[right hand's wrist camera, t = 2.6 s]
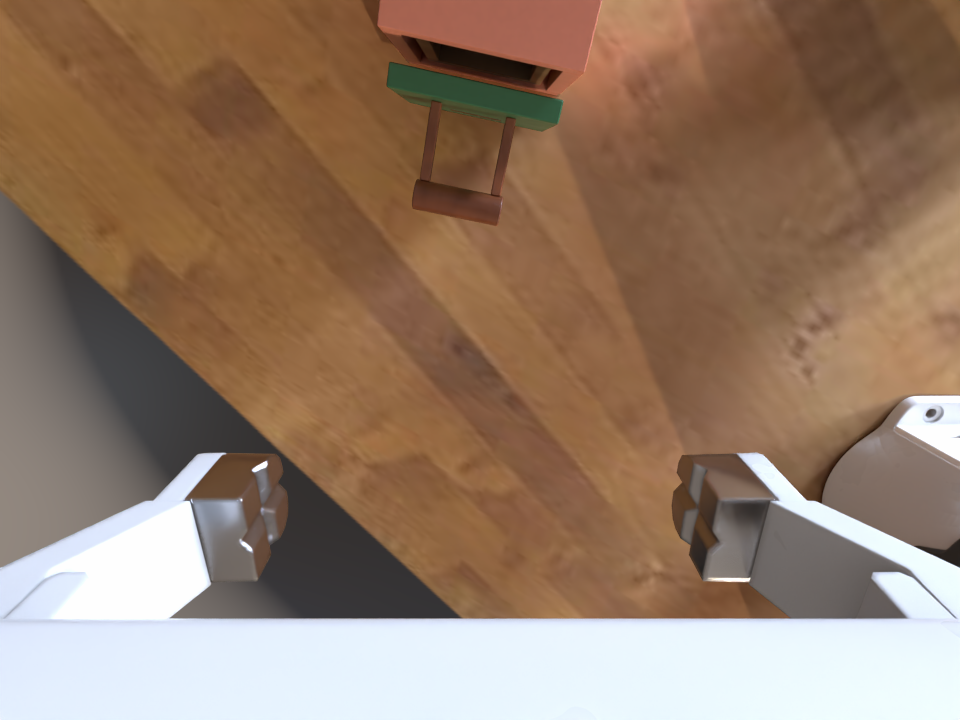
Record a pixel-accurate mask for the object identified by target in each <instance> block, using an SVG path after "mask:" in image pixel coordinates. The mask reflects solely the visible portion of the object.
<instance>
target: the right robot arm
mask: <svg viewBox="0 0 960 720" xmlns="http://www.w3.org/2000/svg"><path fill="white" fill-rule="evenodd" d="M928 410H929V411H928ZM927 411H928V412H927ZM926 412H927V413H926ZM282 474H283V469H282V464H281V460H280V458H279V457H278V456H277V455H276V454H241V453H228V454H226V453H203V454H198V455H196V457H195V458H194V459H193V460H192V461H191V462H190V463H189V464H188V465H187V466H186V467H185V468H184V469H183V470H182V471H181V472H180V473H179V474H178V475H177V476H176V477H175V479H174V480H173V481H172V482H171V483H170V484H169V485H168V486H167V487H166V488H165V489H164V490H163V491H162V492H161V493H160V494H159V495H158V496H157V497H156V499H154V501H144V502H142V503H139V504H137V505H135V506H133V507H131V508H129V509H126V510H124V511H122V512H120V513H118V514H116V515H113V516H111V517H109V518H107V519H105V520H103V521H100V522H98V523H96V524H94V525H92V526H90V527H87V528H85V529H83V530H81V531H79V532H77V533H74V534H72V535H70V536H68V537H66V538H64V539H62V540H59V541H57V542H55V543H53V544H51V545H48V546H46V547H44V548H42V549H40V550H38V551H35V552H33V553H31V554H29V555H27V556H25V557H22V558H20V559H18V560H16V561H14V562H12V563H9V564H7V565H5V566H3V567H1V568H0V720H960V396H912V397H908V398H906V399H904V400H903V401H901V402H900V403H899V404H898V405H897V406H896V407H895V408H894V410H893V411H892V412H891V413H890V414H889V416H888V417H887V418H886V420H885V421H884V422H883V424H882V425H881V426H880V427H879V428H877V429H876V430H875V431H874V432H872V433H871V434H869V435H868V436H866V437H865V438H863V439H862V440H861V441H859V442H858V443H857V444H855V445H854V446H853V447H852V448H851V449H850V450H848V451H847V452H846V453H845V454H844V456H843V457H842V458H841V459H840V460H839V461H838V463H837V464H836V465H835V467H834V468H833V470H832V471H831V473H830V475H829V477H828V479H827V481H826V484H825V487H824V491H823V496H822V504H821V503H818V502H816V501H807V500H806V499H805V498H804V497H803V496H802V495H801V494H800V493H799V492H798V491H797V490H796V489H795V488H794V487H793V486H792V485H791V484H790V483H789V482H788V481H787V479H786V478H785V477H784V476H783V475H782V474H781V473H780V472H779V471H778V470H777V469H776V468H775V467H774V466H773V465H772V464H771V463H770V462H769V461H768V460H767V458H766V457H765V456H764V455H761V454H759V453H735V454H702V455H682V456H681V458H680V460H679V463H678V469H677V474H678V476H679V477H680V479H681V481H682V483H681V484H680V485H679V486H678V487H677V488H676V489H675V490H674V492H673V500H672V514H673V521H674V524H675V528H676V530H677V532H678V534H679V536H680V538H681V539H682V540H684V541H685V542H687V543H688V544H690V545H691V547H690V552H689V556H690V558H691V559H692V561H693V563H694V565H695V567H696V569H697V571H698V573H699V574H700V576H701V578H702V580H703V581H721V582H749V585H750V586H752V587H753V588H754V589H755V590H757V591H758V592H759V593H760V594H762V595H763V596H764V597H765V598H767V599H768V600H769V601H770V602H772V603H773V604H774V605H775V606H776V607H778V608H779V609H780V610H781V611H783V612H784V613H785V614H786V615H788V616H789V617H790V618H791V619H169V618H170V617H171V616H172V615H174V614H175V613H176V612H177V611H179V610H180V609H181V608H182V607H184V606H185V605H186V604H187V603H189V602H190V601H191V600H192V599H194V598H195V597H196V596H197V595H199V594H200V593H201V592H202V591H204V590H205V589H206V588H207V587H209V586H210V585H211V582H238V581H257V580H258V578H259V576H260V574H261V573H262V571H263V569H264V567H265V565H266V563H267V561H268V559H269V557H270V556H271V553H270V547H269V545H270V544H272V543H273V542H275V541H276V540H278V539H279V538H280V536H281V534H282V532H283V530H284V528H285V524H286V520H287V515H288V498H287V492H286V490H285V489H284V488H283V487H282V486H281V485H280V484H279V483H278V481H279V479H280V477H281V476H282Z"/></svg>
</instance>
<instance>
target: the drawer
mask: <svg viewBox="0 0 960 720" xmlns="http://www.w3.org/2000/svg"><path fill="white" fill-rule="evenodd" d="M415 39H416V41H417V42H418V44H419V45H420V47H421V49H422V50H423V52H424V54H425V55H426V57H427V59H428V60H430V61H435V62H439V63H444V64H448V65H452V66H457V67H461V68H466V69H470V70H475V71H479V72H484V73H488V74H492V75H497V76H501V77H506V78H510V79H515V80H519V81H524V82H528V83H533V84H537V85H540V84H541V82H542V81H543V80H544V78H545V77H546V75H547V74H548V72H549V71H550V70H551V69H550V68H546V67H541V66H537V65H532V64H528V63H524V62H519V61H515V60H510V59H506V58H502V57H497V56H493V55H488V54H484V53H480V52H475V51H471V50H466V49H462V48H458V47H453V46H449V45H444V44H440V43H436V42H431V41H427V40H422V39H418V38H415ZM387 87H389V88H390V89H391V90H393V91H394V92H396V93H397V94H399V95H400V96H401V97H403V98H404V99H406V100H407V101H409V102H410V103H414V104H418V105H423V106H427V107H430V113H429V120H428V127H427V134H426V141H425V147H424V154H423V161H422V168H421V175H420V179H417V180H416V183H415V187H414V192H413V199H412V207H413V209H417V210H422V211H426V212H431V213H436V214H441V215H446V216H450V217H455V218H460V219H465V220H470V221H475V222H479V223H484V224H489V225H494V226H497V225H498V223H499V219H500V214H501V209H502V204H503V197H501V191H502V186H503V182H504V177H505V172H506V167H507V162H508V157H509V152H510V147H511V142H512V138H513V133H514V128H515V126H519V127H523V128H528V129H532V130H537V131H541V132H542V131H544V130H547V129H549V128H551V127H553V126H555V125H557V124H558V123H559V118H560V114H561V110H562V105H563V100H559V99H555V98H550V97H546V96H541V95H537V94H532V93H528V92H523V91H519V90H514V89H510V88H505V87H501V86H496V85H492V84H488V83H483V82H479V81H474V80H470V79H465V78H461V77H456V76H452V75H447V74H443V73H438V72H434V71H429V70H425V69H420V68H416V67H411V66H407V65H403V64H398V63H394V62H390V63H389V69H388V78H387ZM441 110H446V111H450V112H455V113H459V114H464V115H468V116H473V117H478V118H482V119H487V120H491V121H496V122H500V123H505V125H504V130H503V135H502V140H501V145H500V150H499V155H498V160H497V165H496V170H495V175H494V180H493V185H492V190H491V194H486V193H482V192H477V191H472V190H467V189H463V188H458V187H453V186H448V185H444V184H439V183H434V182H430V180H431V174H432V167H433V161H434V154H435V148H436V141H437V135H438V128H439V122H440V115H441Z"/></svg>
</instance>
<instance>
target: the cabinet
mask: <svg viewBox="0 0 960 720" xmlns="http://www.w3.org/2000/svg"><path fill="white" fill-rule="evenodd" d="M601 2H602V0H380V3H379V13H378V22H377V26H378V27H379V28H380V29H381V30H382V32H383V33H384V34H385V35H386V36H387V37H388V39H389V40H390V41H391V42H392V43H393V45H394V46H395V47H396V48H397V49H398V51H399V52H400V53H401V54H402V55H403V56H404V58H405V59H406V61H407V62H408V63H414V64H418V65H423V66H427V67H432V68H436V69H441V70H445V71H450V72H454V73H459V74H463V75H467V76H472V77H476V78H481V79H485V80H490V81H494V82H499V83H503V84H508V85H512V86H517V87H521V88H526V89H530V90H534V91H539V92H543V93H548V94H552V95H557V96H559V95H560V94H561V93H562V92H563V91H564V90H565V89H566V88H567V87H569V86H570V85H571V84H572V83H573V82H574V81H575V80H576V79H578V78H579V77H580V76H581V75H582V74H583V73H584V72H585V68H586V64H587V60H588V56H589V52H590V48H591V44H592V40H593V35H594V31H595V27H596V23H597V19H598V15H599V11H600V7H601ZM415 38H418V39H422V40H427V41H431V42H436V43H440V44H444V45H449V46H453V47H458V48H462V49H466V50H471V51H475V52H480V53H484V54H488V55H493V56H497V57H502V58H506V59H510V60H515V61H519V62H524V63H528V64H532V65H537V66H541V67H546V68H550V69H551V70H550V71H549V72H548V74H547V75H546V77H545V78H544V80H543V81H542V82H541V84H540V85H537V84H533V83H528V82H524V81H519V80H515V79H510V78H506V77H501V76H497V75H492V74H488V73H484V72H479V71H475V70H470V69H466V68H461V67H457V66H452V65H448V64H444V63H439V62H435V61H430V60H428V59H427V57H426V55H425V54H424V52H423V50H422V49H421V47H420V45H419V44H418V42H417V41H416V39H415Z"/></svg>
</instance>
